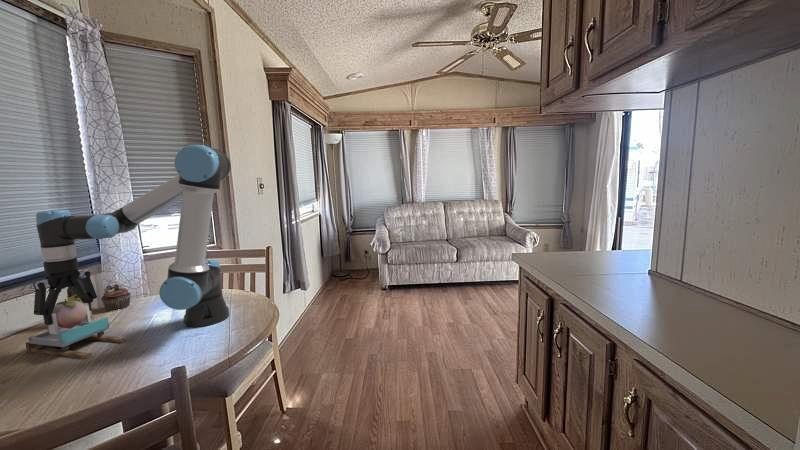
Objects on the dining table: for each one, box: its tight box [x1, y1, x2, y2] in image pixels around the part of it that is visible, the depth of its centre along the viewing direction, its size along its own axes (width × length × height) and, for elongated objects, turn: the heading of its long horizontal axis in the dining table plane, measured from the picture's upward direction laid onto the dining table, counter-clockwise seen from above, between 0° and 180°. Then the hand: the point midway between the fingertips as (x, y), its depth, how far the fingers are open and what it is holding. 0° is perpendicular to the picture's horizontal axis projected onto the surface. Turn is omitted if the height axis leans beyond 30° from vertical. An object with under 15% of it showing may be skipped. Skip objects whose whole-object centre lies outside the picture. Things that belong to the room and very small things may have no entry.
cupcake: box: [100, 283, 132, 311], centre depth 140 cm, size 10×10×10 cm
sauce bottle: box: [66, 269, 93, 319], centre depth 126 cm, size 6×6×20 cm
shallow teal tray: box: [28, 316, 110, 351], centre depth 107 cm, size 14×13×6 cm
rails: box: [25, 334, 127, 359], centre depth 107 cm, size 24×12×3 cm, turn 78°
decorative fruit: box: [53, 298, 87, 329], centre depth 106 cm, size 9×8×10 cm
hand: (71, 327), depth 106 cm, fingers closed on decorative fruit, 8 cm apart
